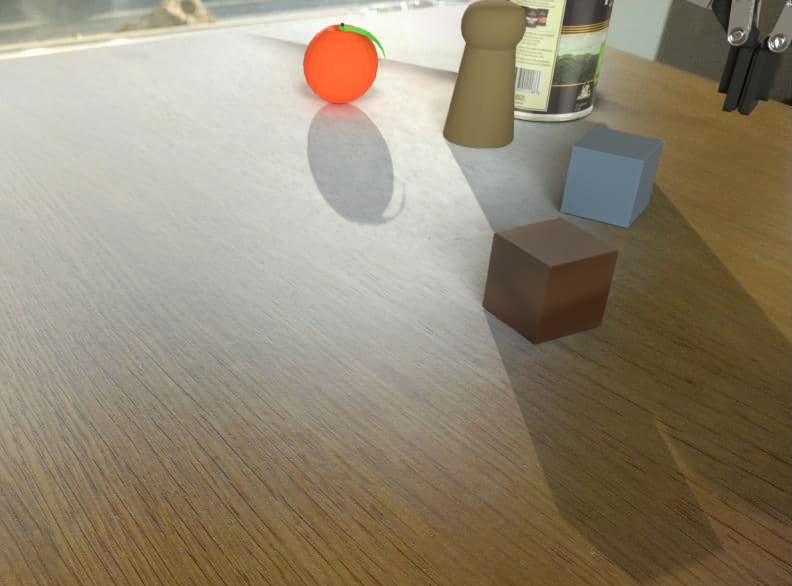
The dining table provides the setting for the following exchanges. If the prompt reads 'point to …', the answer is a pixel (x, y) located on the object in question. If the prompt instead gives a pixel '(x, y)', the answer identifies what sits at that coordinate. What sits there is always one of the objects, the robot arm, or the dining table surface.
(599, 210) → the slate block
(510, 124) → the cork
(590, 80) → the coffee can
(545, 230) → the copper block
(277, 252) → the dining table surface
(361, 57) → the clementine
